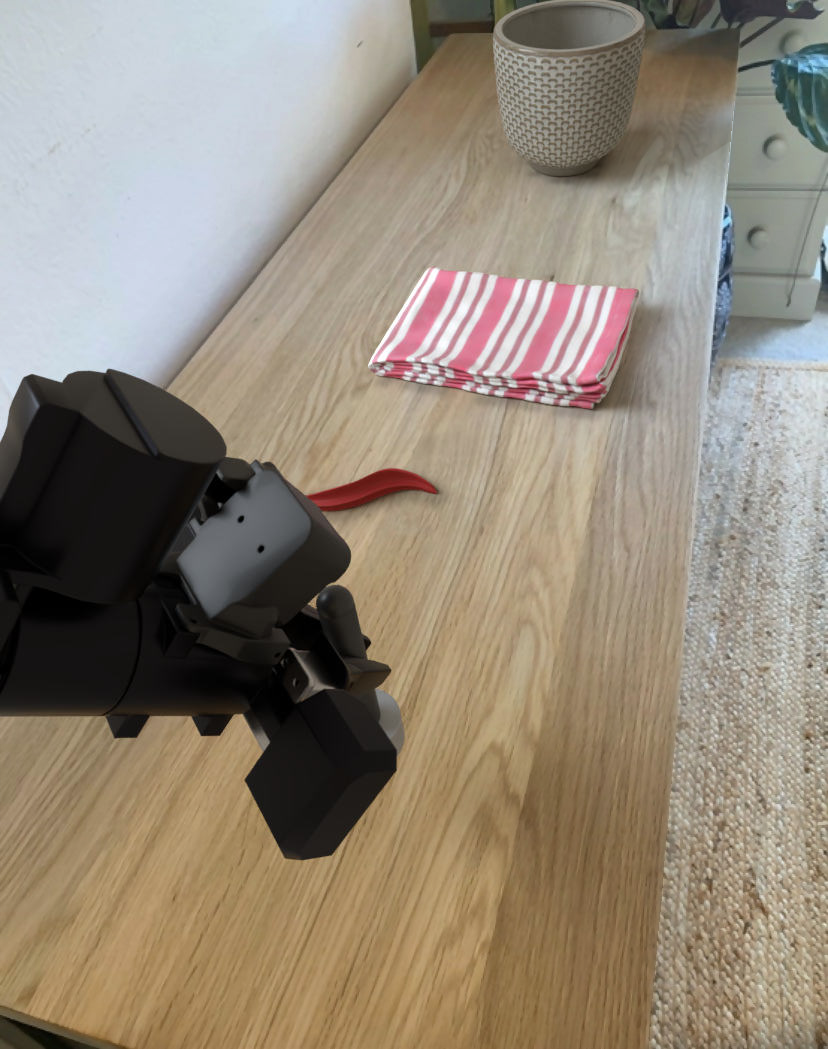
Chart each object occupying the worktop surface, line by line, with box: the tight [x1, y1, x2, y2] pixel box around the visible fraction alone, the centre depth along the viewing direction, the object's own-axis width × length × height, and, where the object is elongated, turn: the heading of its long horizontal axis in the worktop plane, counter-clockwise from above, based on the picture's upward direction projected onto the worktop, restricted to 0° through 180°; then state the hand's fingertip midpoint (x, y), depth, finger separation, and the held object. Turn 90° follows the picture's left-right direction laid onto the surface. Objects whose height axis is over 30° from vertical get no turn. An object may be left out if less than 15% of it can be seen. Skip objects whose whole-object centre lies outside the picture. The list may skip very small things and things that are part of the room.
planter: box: [492, 0, 646, 177], centre depth 103 cm, size 17×17×16 cm
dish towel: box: [367, 266, 640, 410], centre depth 84 cm, size 17×23×4 cm
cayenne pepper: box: [304, 467, 438, 512], centre depth 72 cm, size 12×5×2 cm, turn 83°
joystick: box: [315, 584, 406, 757], centre depth 45 cm, size 4×4×14 cm
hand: (376, 660), depth 45 cm, fingers closed on joystick, 2 cm apart
